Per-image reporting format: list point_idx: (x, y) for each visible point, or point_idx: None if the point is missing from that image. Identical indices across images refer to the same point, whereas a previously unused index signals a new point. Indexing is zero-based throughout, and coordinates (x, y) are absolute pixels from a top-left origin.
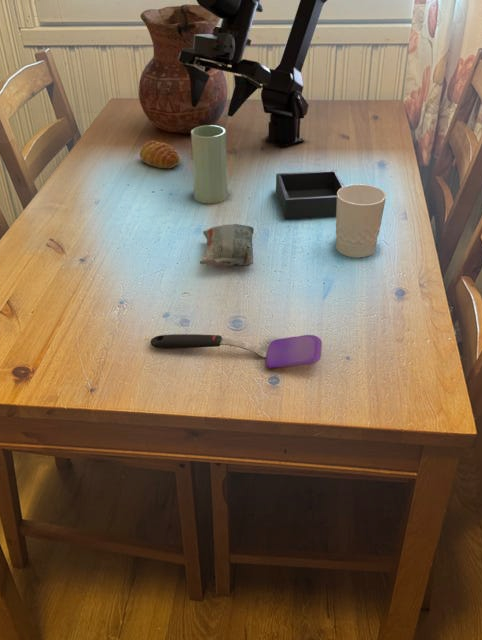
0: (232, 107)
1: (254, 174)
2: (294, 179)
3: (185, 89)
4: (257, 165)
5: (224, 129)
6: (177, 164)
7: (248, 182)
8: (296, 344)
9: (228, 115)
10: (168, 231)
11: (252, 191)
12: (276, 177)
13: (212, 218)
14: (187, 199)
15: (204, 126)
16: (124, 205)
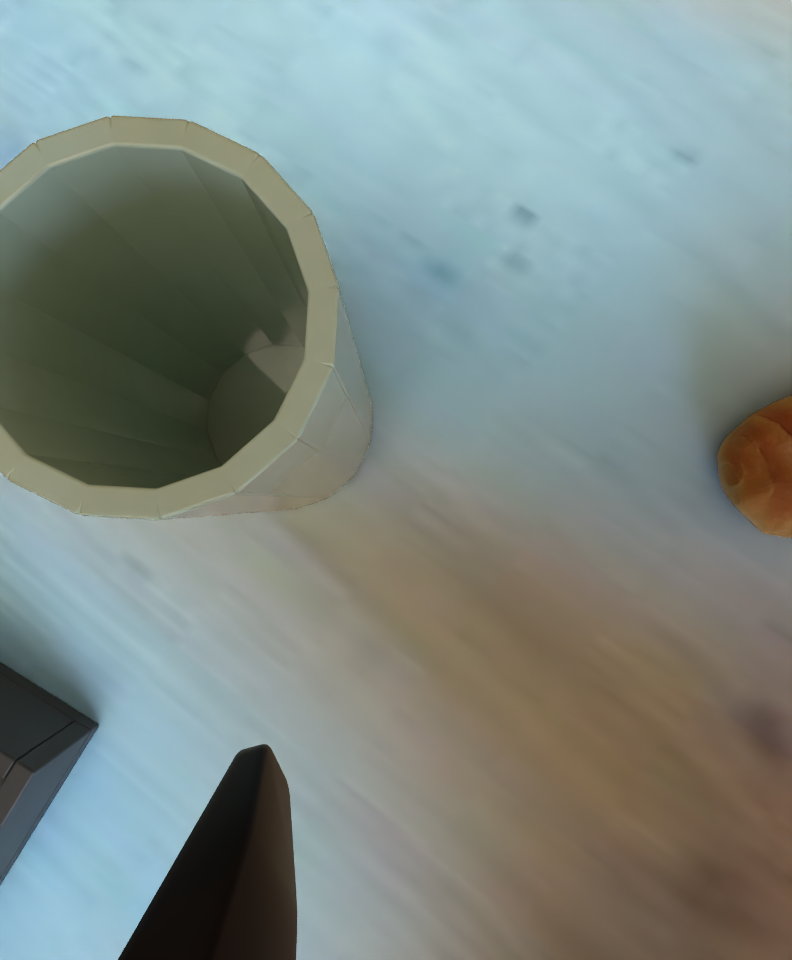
0: (181, 855)
1: (364, 786)
2: None
3: None
4: (454, 882)
5: (53, 494)
6: (723, 489)
7: (299, 691)
8: None
9: (258, 747)
10: (103, 44)
11: (194, 635)
12: (32, 755)
13: None
14: None
15: (298, 373)
16: (480, 19)
